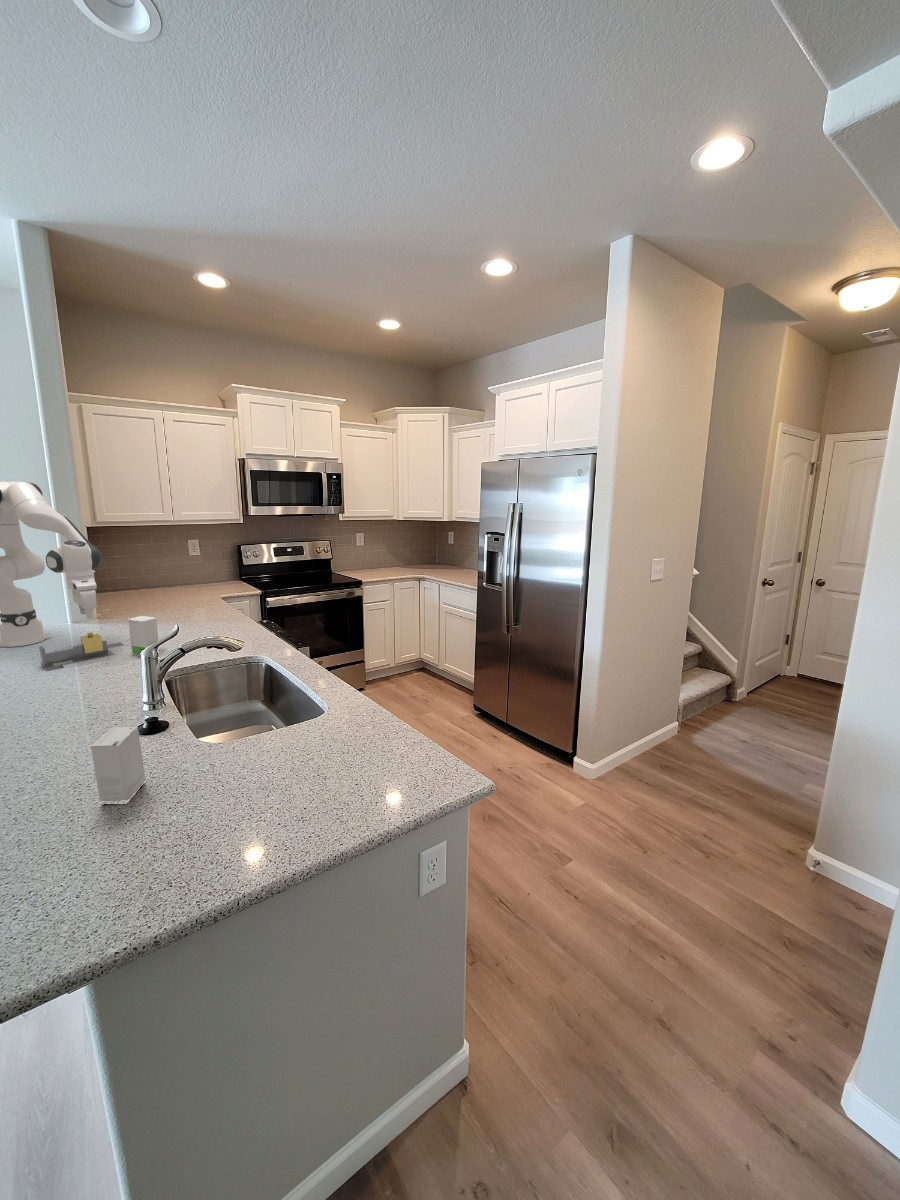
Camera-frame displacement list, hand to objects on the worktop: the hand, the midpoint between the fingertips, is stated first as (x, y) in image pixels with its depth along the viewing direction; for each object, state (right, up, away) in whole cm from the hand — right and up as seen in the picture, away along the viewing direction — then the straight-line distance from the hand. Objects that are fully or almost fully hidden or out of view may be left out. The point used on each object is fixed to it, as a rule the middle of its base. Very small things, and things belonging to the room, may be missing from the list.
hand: (86, 616), depth 195 cm
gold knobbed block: (0, -14, +3) cm, 14 cm away
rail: (-3, -18, 0) cm, 18 cm away
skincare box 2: (+19, -16, +8) cm, 26 cm away
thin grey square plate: (0, -14, +16) cm, 21 cm away
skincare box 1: (+72, -38, -85) cm, 118 cm away
